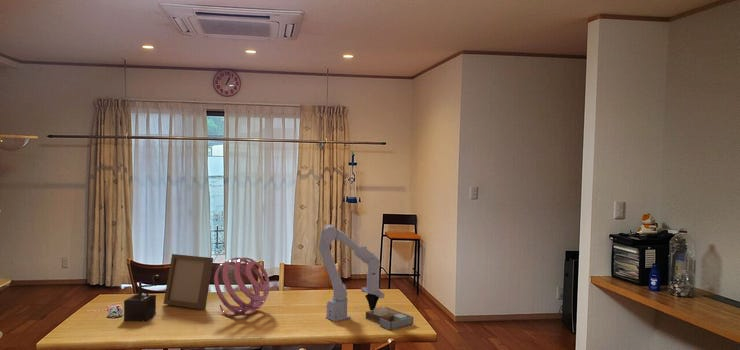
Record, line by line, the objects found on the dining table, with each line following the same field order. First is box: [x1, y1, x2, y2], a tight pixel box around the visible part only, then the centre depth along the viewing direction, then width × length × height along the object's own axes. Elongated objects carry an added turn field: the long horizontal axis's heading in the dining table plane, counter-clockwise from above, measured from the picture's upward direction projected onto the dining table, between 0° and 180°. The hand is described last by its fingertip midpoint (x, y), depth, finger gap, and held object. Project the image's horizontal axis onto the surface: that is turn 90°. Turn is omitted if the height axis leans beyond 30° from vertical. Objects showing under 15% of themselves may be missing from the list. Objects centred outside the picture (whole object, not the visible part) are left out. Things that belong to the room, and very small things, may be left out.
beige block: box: [374, 306, 388, 316], centre depth 225 cm, size 5×5×3 cm
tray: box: [379, 312, 414, 332], centre depth 219 cm, size 14×7×4 cm, turn 130°
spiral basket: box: [213, 257, 271, 317], centre depth 231 cm, size 28×28×27 cm
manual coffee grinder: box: [123, 274, 162, 322], centre depth 224 cm, size 16×11×18 cm
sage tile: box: [393, 314, 408, 321], centre depth 223 cm, size 5×5×3 cm
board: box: [365, 306, 402, 325], centre depth 228 cm, size 13×12×3 cm
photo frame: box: [163, 253, 214, 310], centre depth 244 cm, size 15×22×25 cm
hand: (372, 309), depth 230 cm, fingers closed
